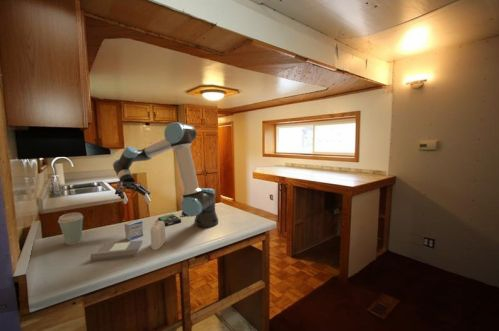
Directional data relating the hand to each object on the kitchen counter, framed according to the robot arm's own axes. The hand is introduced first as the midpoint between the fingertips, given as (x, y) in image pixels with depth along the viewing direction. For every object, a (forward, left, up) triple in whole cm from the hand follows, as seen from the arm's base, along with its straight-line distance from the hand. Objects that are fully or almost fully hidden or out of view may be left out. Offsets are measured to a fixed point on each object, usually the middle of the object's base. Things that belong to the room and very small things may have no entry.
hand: (138, 202), depth 128 cm
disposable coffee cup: (+32, +3, -19) cm, 38 cm away
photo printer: (-13, +17, -19) cm, 28 cm away
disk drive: (-14, -19, -20) cm, 31 cm away
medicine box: (+2, +3, -19) cm, 20 cm away
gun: (-28, -31, -19) cm, 46 cm away
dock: (+5, +19, -19) cm, 27 cm away
